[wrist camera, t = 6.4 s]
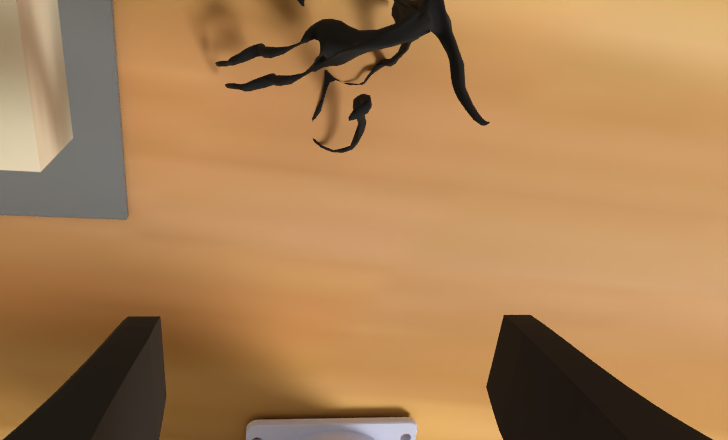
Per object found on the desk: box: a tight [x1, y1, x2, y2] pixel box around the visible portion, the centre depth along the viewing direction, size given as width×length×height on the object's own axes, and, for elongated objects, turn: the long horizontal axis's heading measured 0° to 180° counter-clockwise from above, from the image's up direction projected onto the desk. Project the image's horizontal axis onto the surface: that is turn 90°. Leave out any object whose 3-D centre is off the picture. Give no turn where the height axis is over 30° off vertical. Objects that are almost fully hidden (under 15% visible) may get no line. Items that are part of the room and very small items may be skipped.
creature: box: [216, 0, 490, 153], centre depth 17 cm, size 8×5×8 cm
